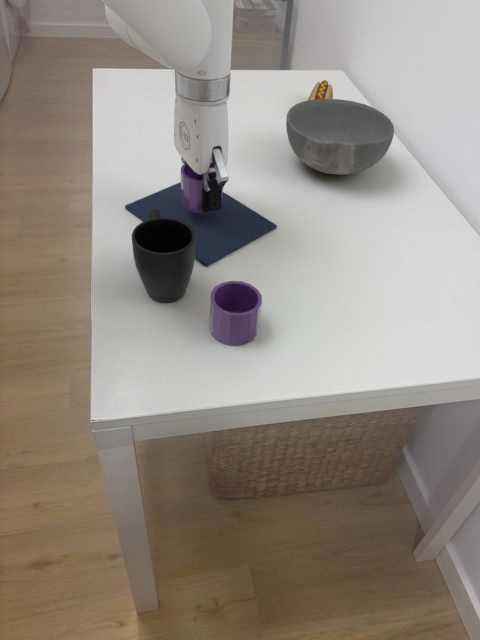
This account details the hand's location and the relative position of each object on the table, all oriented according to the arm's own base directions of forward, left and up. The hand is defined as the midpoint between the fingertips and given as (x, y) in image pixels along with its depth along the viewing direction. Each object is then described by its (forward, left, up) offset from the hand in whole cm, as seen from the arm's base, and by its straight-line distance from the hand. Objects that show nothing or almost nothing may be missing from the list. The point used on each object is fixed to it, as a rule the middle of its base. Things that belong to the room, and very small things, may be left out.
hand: (201, 197), depth 85 cm
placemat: (0, 0, -4) cm, 4 cm away
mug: (+8, -15, -4) cm, 18 cm away
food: (-15, +50, -4) cm, 52 cm away
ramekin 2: (+22, -14, -4) cm, 26 cm away
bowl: (+3, +32, -4) cm, 32 cm away
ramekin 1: (0, 0, -1) cm, 1 cm away
